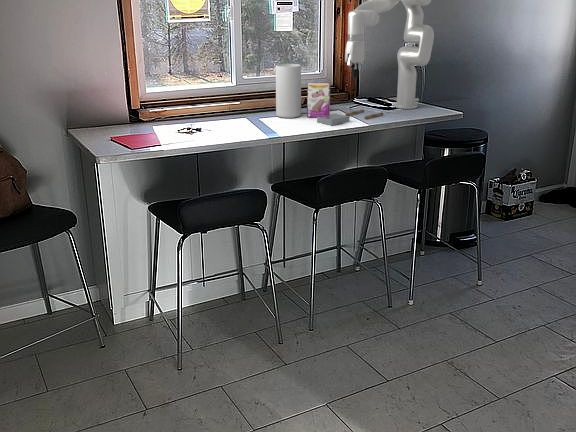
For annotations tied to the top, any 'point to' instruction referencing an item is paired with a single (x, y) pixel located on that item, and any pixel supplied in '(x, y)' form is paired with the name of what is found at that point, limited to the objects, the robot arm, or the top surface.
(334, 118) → the steel cover plate
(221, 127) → the top surface
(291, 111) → the cylinder vase
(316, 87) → the candy bar box
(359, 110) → the pair of brown sticks
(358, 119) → the top surface
